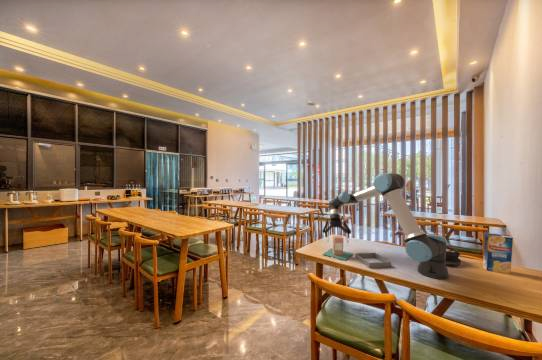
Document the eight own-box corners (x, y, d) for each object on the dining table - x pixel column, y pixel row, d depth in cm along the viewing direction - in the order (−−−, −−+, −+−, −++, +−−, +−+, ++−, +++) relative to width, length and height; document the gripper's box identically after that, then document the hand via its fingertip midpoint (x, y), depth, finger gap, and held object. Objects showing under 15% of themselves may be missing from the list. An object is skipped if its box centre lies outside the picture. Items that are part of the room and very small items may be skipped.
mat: (352, 254, 167) (352, 253, 167) (345, 260, 154) (345, 259, 154) (331, 249, 177) (331, 248, 177) (322, 255, 164) (322, 254, 164)
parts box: (341, 252, 168) (341, 235, 168) (342, 255, 162) (343, 238, 162) (332, 251, 169) (333, 235, 168) (334, 254, 163) (334, 237, 162)
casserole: (423, 252, 175) (424, 241, 174) (453, 256, 168) (454, 245, 168) (432, 264, 152) (433, 252, 151) (468, 269, 145) (469, 256, 144)
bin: (390, 266, 146) (391, 262, 146) (369, 267, 144) (369, 263, 144) (374, 257, 163) (375, 252, 163) (355, 257, 161) (355, 253, 160)
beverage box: (510, 274, 139) (513, 237, 139) (486, 270, 144) (488, 235, 144) (505, 270, 145) (508, 235, 145) (482, 266, 151) (484, 232, 150)
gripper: (350, 219, 181) (355, 244, 167) (318, 218, 184) (319, 243, 169) (352, 214, 176) (357, 239, 161) (318, 212, 178) (320, 237, 164)
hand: (337, 241), depth 165 cm, fingers open, 13 cm apart
